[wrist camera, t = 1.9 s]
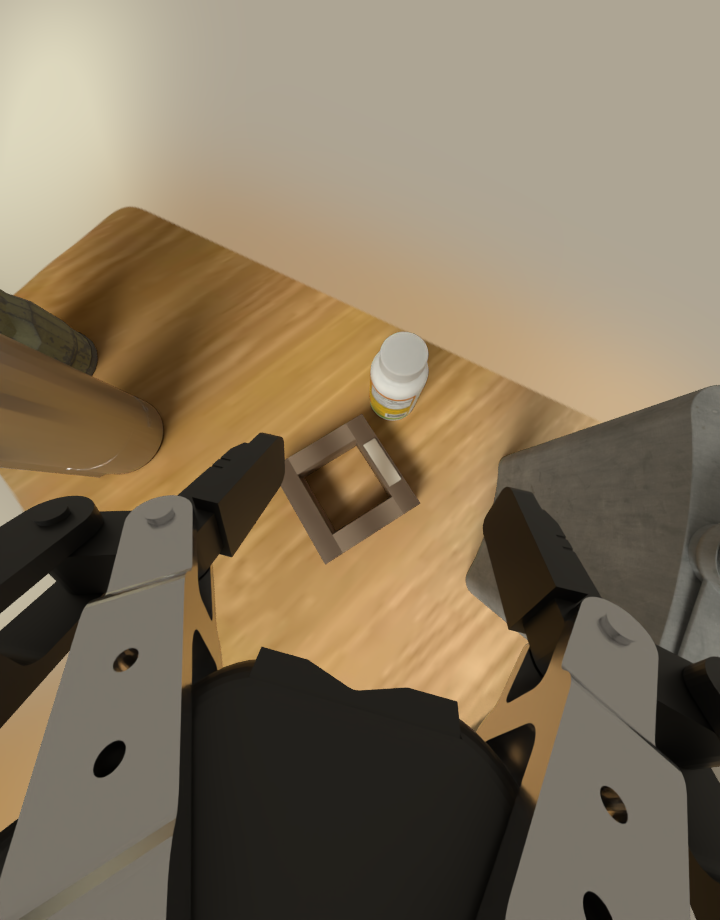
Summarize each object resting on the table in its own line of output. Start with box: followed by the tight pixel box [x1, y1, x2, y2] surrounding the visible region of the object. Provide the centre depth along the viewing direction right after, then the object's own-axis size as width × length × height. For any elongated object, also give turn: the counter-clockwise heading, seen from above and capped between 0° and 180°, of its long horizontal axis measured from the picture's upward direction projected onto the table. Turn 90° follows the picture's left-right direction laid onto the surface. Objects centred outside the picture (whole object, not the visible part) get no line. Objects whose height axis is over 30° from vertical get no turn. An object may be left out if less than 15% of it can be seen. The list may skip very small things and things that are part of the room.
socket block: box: [281, 414, 420, 564], centre depth 27 cm, size 11×11×3 cm
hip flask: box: [466, 385, 720, 663], centre depth 18 cm, size 16×4×20 cm, turn 159°
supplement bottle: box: [370, 332, 428, 420], centre depth 26 cm, size 5×5×10 cm
